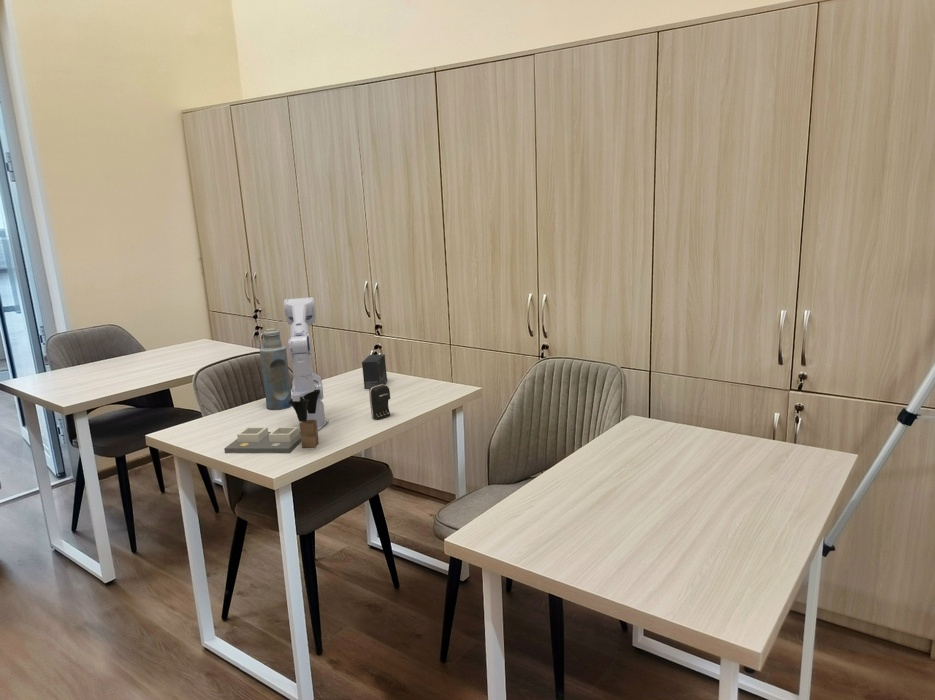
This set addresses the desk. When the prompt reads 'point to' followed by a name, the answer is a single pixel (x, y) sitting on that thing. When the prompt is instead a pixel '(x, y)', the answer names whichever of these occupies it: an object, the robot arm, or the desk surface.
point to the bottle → (275, 371)
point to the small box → (374, 371)
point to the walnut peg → (309, 434)
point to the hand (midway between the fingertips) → (307, 417)
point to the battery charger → (379, 401)
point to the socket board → (265, 440)
